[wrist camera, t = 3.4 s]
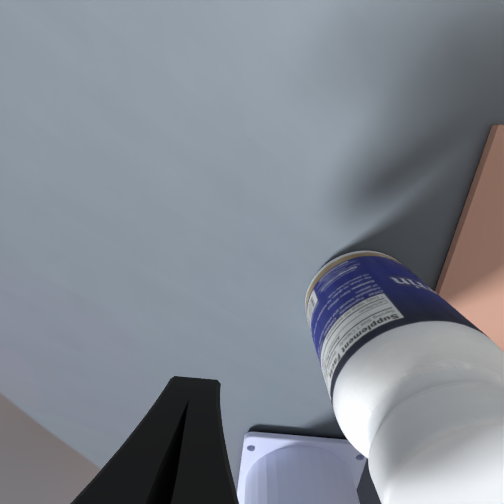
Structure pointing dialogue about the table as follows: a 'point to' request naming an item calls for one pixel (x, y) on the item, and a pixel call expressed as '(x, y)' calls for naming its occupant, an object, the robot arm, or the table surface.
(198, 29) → the table surface
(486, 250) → the mat
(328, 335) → the pill bottle
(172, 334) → the table surface
